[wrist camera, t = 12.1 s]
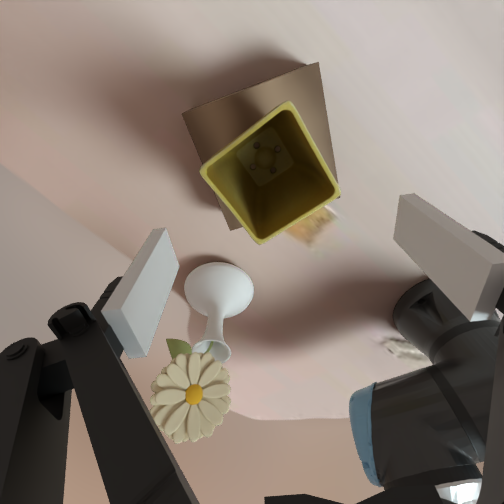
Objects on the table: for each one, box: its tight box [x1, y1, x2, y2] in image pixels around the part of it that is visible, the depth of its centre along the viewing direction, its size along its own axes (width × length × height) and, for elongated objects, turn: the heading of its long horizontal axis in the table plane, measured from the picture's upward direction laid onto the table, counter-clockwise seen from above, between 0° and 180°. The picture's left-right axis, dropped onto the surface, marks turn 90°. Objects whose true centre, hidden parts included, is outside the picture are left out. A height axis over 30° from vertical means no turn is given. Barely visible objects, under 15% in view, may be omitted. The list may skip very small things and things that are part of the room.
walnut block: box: [182, 62, 340, 231], centre depth 33 cm, size 14×14×6 cm
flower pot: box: [199, 101, 341, 245], centre depth 26 cm, size 9×9×9 cm
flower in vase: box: [149, 262, 254, 444], centre depth 35 cm, size 13×11×25 cm
